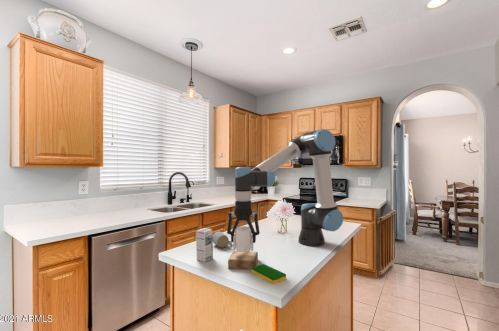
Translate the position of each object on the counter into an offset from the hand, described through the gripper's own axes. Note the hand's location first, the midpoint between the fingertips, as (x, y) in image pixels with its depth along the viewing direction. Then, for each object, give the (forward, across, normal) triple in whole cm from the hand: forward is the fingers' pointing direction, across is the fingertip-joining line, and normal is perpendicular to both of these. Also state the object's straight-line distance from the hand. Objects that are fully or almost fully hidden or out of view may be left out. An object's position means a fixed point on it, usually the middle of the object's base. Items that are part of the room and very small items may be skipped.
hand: (243, 249), depth 114 cm
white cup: (0, 0, 0) cm, 0 cm away
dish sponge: (+7, -12, +11) cm, 18 cm away
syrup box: (+7, +20, -4) cm, 22 cm away
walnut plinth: (+7, 0, 0) cm, 7 cm away
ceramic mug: (+7, +16, -26) cm, 31 cm away
